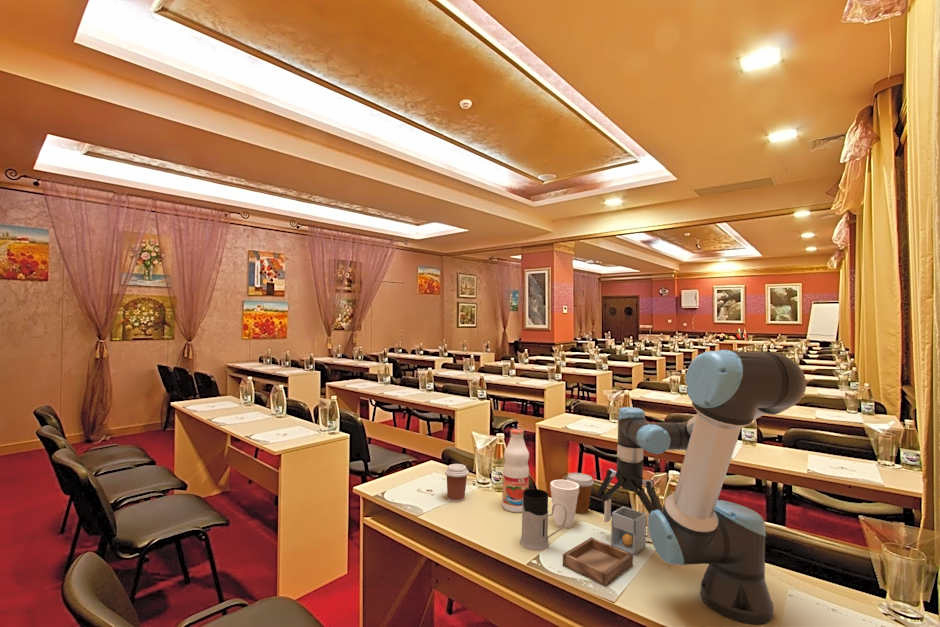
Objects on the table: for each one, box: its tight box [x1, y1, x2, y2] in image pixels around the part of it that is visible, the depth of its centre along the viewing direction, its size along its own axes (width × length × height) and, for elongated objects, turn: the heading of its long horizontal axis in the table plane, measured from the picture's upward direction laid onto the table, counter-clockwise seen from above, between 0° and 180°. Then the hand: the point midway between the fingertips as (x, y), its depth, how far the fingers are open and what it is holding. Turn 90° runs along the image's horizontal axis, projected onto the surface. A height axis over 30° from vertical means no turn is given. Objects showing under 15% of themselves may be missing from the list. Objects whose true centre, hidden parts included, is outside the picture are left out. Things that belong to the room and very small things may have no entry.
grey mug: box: [519, 488, 567, 551], centre depth 132 cm, size 9×14×15 cm, turn 59°
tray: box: [562, 537, 634, 587], centre depth 122 cm, size 13×15×3 cm
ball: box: [622, 534, 633, 546], centre depth 133 cm, size 3×3×3 cm
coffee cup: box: [444, 463, 470, 503], centre depth 166 cm, size 9×9×12 cm
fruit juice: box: [501, 428, 530, 513], centre depth 160 cm, size 9×9×28 cm
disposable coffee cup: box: [566, 472, 595, 515], centre depth 159 cm, size 10×10×12 cm
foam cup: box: [549, 479, 579, 529], centre depth 148 cm, size 10×9×13 cm
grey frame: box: [610, 506, 647, 557], centre depth 133 cm, size 7×7×10 cm
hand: (627, 528), depth 134 cm, fingers open, 13 cm apart
